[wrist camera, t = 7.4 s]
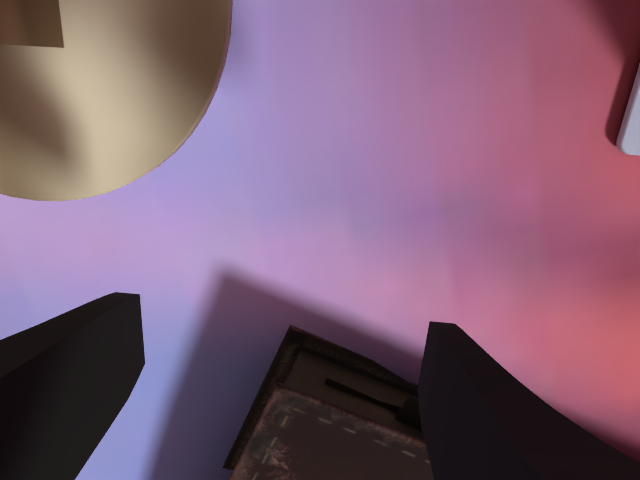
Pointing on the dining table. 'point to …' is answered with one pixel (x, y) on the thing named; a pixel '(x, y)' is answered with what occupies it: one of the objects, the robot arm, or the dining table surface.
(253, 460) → the diary
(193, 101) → the lid
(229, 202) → the dining table surface
